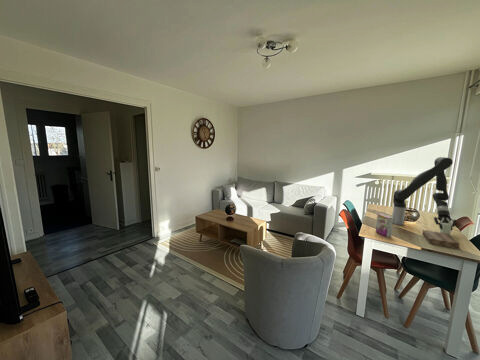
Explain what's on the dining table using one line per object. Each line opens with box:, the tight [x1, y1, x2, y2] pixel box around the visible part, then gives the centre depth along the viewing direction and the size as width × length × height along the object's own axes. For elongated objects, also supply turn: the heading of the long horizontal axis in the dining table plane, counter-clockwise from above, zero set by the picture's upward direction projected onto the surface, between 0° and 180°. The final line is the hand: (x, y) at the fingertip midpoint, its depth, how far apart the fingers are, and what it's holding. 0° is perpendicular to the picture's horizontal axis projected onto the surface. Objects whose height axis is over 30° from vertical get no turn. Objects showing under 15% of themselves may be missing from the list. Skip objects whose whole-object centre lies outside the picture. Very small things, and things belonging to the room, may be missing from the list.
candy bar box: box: [375, 213, 394, 238], centre depth 172 cm, size 11×5×16 cm, turn 9°
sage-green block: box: [439, 223, 452, 235], centre depth 171 cm, size 5×5×10 cm
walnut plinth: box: [422, 229, 460, 249], centre depth 160 cm, size 16×20×4 cm
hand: (446, 229), depth 170 cm, fingers closed on sage-green block, 5 cm apart
